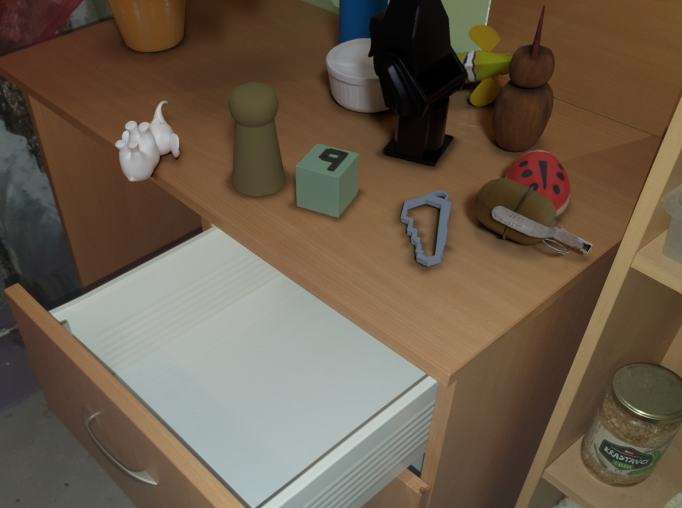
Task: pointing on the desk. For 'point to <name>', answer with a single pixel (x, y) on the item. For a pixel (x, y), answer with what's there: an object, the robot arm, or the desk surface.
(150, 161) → the elephant figurine
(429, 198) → the key tool
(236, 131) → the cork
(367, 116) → the desk surface
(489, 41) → the fish toy
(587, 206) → the desk surface
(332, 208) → the letter block
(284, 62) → the desk surface
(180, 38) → the flower pot
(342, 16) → the beverage can
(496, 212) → the grenade
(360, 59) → the ramekin
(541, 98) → the wooden figurine
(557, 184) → the ladybug figurine
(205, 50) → the desk surface
